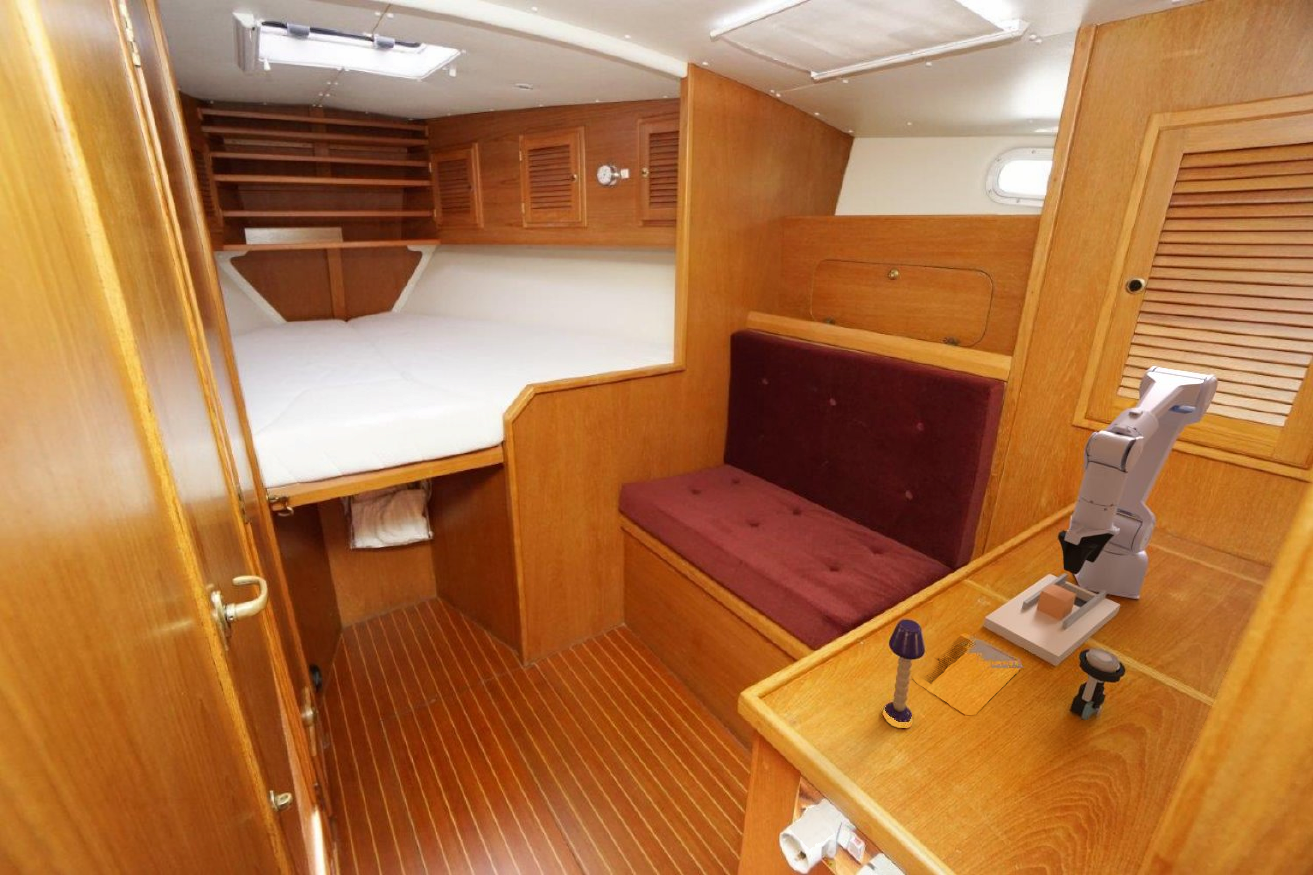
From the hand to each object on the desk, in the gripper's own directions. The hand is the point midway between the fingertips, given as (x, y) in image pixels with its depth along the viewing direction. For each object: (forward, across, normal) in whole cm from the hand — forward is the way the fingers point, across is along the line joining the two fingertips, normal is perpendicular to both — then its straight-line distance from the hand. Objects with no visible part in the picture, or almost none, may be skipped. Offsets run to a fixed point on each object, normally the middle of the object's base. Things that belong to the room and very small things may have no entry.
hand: (1079, 565), depth 104 cm
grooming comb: (+10, -31, +2) cm, 33 cm away
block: (+7, -6, 0) cm, 10 cm away
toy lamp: (+10, -49, +2) cm, 50 cm away
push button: (+10, -23, -13) cm, 28 cm away
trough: (+9, -6, 0) cm, 11 cm away
